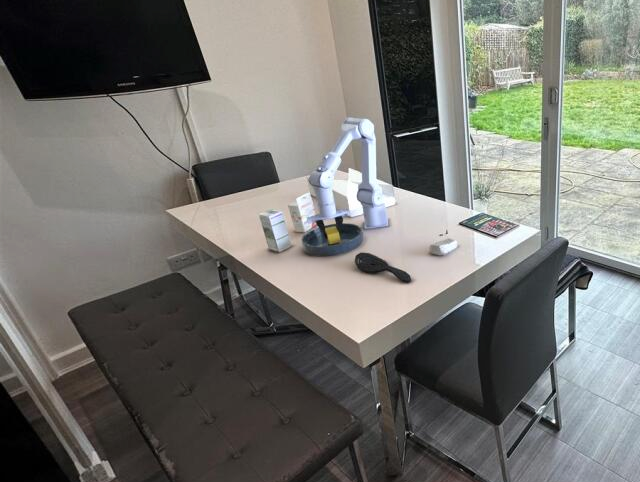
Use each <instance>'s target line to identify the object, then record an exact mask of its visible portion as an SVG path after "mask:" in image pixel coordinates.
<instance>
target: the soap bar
mask: <svg viewBox="0 0 640 482" xmlns="http://www.w3.org/2000/svg"><path fill="white" fill-rule="evenodd" d="M457 248H458V241H457V240H456V239H453V238H449V237H448V238H444V239H443V240H440V241H436V242H435V243H433V244H430V245H429V251H430V254H432V255H436V256H445V255H447V254H448V253H450V252H452V251H453V250H455V249H457Z"/></svg>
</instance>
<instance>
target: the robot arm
mask: <svg viewBox="0 0 640 482" xmlns="http://www.w3.org/2000/svg"><path fill="white" fill-rule="evenodd" d="M376 139H377V137H376V135H375V124H373V122H372V121H371V120H370V119H368V118H356V117H352V116H351V117H346V118H345V119H344V120H343V123H342V124H341V125H340V133H339V135H338V137H337V139H336V141H335V143H334V145H333V147H332V149H331V151H328V152H326V153H325V154H323V155H322V159H321V161H320V163H319V165H317V167H316V168H315V169H316V170H314V171H312V172H311V173H310V174H309V176H308V177H309V180H308V181H309V183H310V184H311V185H312V186H313V189H314V191H315V195H316V197H315V200H316V205H317V208H318V209H317V210H318V213H317V214H315V215H314V216H311V217H307V222H308V224H311V223H312V222H316V224H317V225H316V226H317V228H318V227H319V228H320V229H321V231H322V232H323V234H324V236H325V239H327V234H326V230H325V225H326V224H325V222H324V221H328V220H332V219H334V222H335V224H336V227H337V230H338V232H339V236H340V232H341V226H342V223H344V217H349V216H350V213H349V210H337V209H336V208H335V203H334V198H333V193H332V188H331V185H332V184H333V182H334V179H335V173H336V172H337V169H338V168H339V167H340V164H341V163H342V158H341V157H342V154H343V153H344V152H345V150H346V149H347V148H348V146H349V145H350V143H351V142H352V141H353V140H358V142H360V149H361V150H360V151H361V155H360V156H361V173H362V182H361V183H360V184H359V185H358V191H357V194H356V197H357V200H358V201H359V202H361V205H362V208H363V214H362V215H363V219H364V222H363V223H364V225H363V226H364V227H363V228H364V229H365V230H369V229H377V228H383V227H388V226H389V216H388V213H387V207H386V206H385V203H382V202H383V198H384V197H383V193H382V188H381V186H380V185H379V184H378V183H377V182H376V179H377V140H376ZM308 181H307V182H308Z"/></svg>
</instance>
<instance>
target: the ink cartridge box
mask: <svg viewBox="0 0 640 482" xmlns="http://www.w3.org/2000/svg"><path fill="white" fill-rule="evenodd" d="M287 207H288V211H289V215H290V218H291V222H292V226H293V229H294V232H295V233H307V232H309V231H310V230H312V229H314V227H316V226H317V224H316V222H312V223H311V224H308V222H307V217H311V216H314V215H316V211H315V207H314V202H313V198H312V195H311V194H310V191H308V192H306V193H304V194H302V195H300V196H298V197H296V198H295V201H294V202H292V203H290V204H288V205H287Z"/></svg>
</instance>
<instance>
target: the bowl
mask: <svg viewBox="0 0 640 482" xmlns="http://www.w3.org/2000/svg"><path fill="white" fill-rule="evenodd" d="M334 226H336V223H330V224H325V228H329V227H334ZM336 228H337V227H336ZM340 241H341V242H339V243H334V244H330V245H329V243H328V240H327V239H325V236H324V234H323V232H322V231H321V229H320V228H319V227H318V226H317V227H316V228H312V229H310V230H308V231H306V232H305V234H303V236H302V237H301V244H302V249H303V251H304V252H305V253H306V254H308V255H310V256H315V257H333V256H339V255H342V254H345V253H348V252H351V251H353V250H355V249H357V248H358V247H359V246H360V245H362V243H363V241H364V232H363V229H362V227H361V226H360V225H358V224H354V223H349V222H343V223H342V226H341V232H340Z"/></svg>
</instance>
